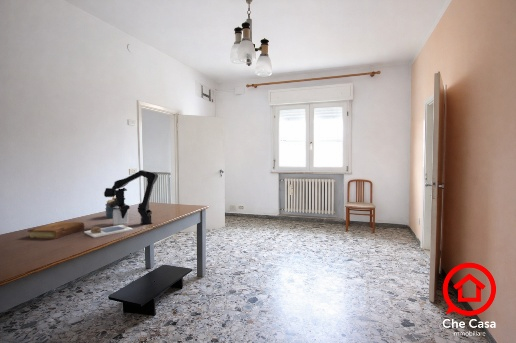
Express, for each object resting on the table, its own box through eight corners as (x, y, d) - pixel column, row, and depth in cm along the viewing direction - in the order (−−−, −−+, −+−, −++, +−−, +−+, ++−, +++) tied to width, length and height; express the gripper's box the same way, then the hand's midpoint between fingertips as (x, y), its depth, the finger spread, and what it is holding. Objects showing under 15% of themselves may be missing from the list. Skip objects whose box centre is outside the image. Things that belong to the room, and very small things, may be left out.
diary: (56, 240, 161) (55, 230, 161) (27, 239, 163) (27, 230, 163) (84, 230, 184) (83, 222, 184) (59, 230, 186) (58, 221, 185)
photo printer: (127, 222, 204) (127, 206, 204) (128, 223, 201) (128, 207, 200) (112, 224, 199) (112, 208, 198) (113, 225, 195) (112, 209, 195)
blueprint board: (121, 226, 194) (121, 220, 193) (133, 229, 182) (132, 224, 182) (84, 232, 175) (84, 226, 175) (93, 237, 164) (93, 231, 164)
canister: (126, 216, 228) (126, 196, 227) (115, 219, 215) (114, 198, 215) (113, 216, 231) (113, 196, 230) (101, 219, 218) (101, 197, 217)
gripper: (103, 197, 199) (104, 217, 199) (113, 199, 187) (114, 221, 187) (119, 195, 207) (119, 215, 208) (129, 197, 195) (130, 218, 196)
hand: (120, 217), depth 200 cm, fingers open, 8 cm apart
